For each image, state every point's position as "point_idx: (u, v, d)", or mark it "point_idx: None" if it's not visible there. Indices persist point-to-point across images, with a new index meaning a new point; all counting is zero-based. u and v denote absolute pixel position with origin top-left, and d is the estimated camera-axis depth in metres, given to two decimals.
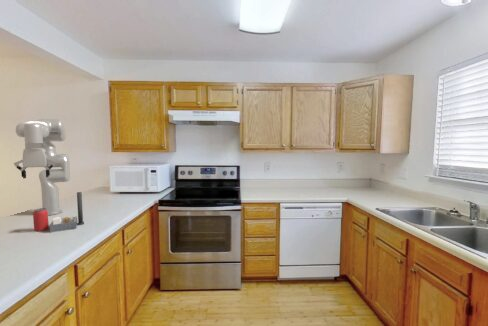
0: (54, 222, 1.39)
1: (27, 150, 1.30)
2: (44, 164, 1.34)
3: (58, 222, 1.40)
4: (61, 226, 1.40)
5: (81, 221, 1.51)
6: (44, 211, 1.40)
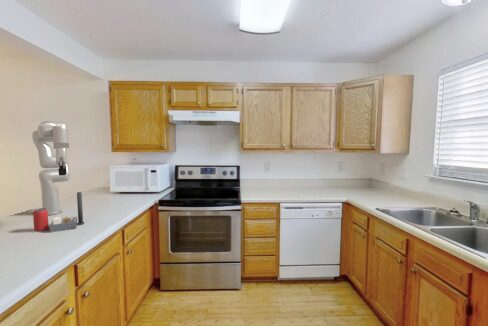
0: (54, 222, 1.39)
1: (65, 149, 1.46)
2: None
3: (58, 222, 1.40)
4: (61, 226, 1.40)
5: (81, 221, 1.51)
6: (44, 211, 1.40)
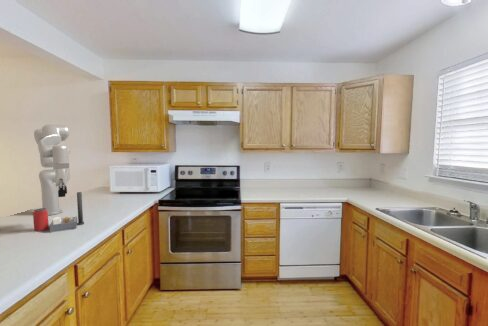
0: (54, 222, 1.39)
1: (65, 170, 1.42)
2: None
3: (58, 222, 1.40)
4: (61, 226, 1.40)
5: (81, 221, 1.51)
6: (44, 211, 1.40)
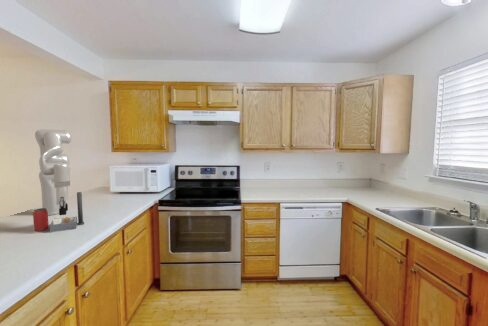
0: (54, 222, 1.39)
1: (66, 188, 1.43)
2: None
3: (58, 222, 1.40)
4: (61, 226, 1.40)
5: (81, 221, 1.51)
6: (44, 211, 1.40)
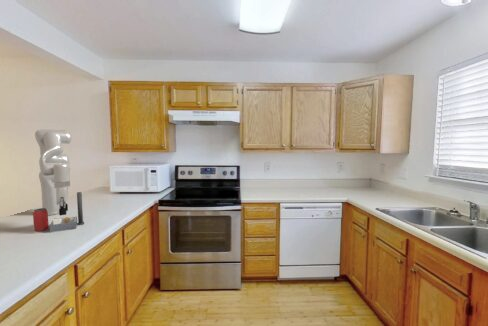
0: (54, 222, 1.39)
1: (66, 188, 1.43)
2: None
3: (58, 222, 1.40)
4: (61, 226, 1.40)
5: (81, 221, 1.51)
6: (44, 211, 1.40)
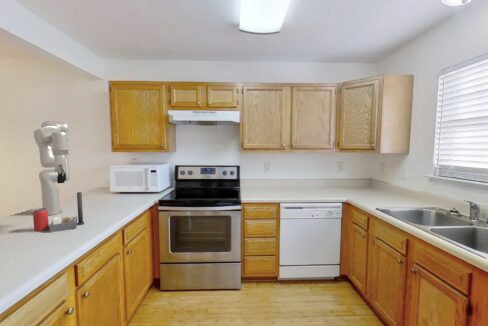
0: (54, 222, 1.39)
1: (65, 156, 1.42)
2: None
3: (58, 222, 1.40)
4: (61, 226, 1.40)
5: (81, 221, 1.51)
6: (44, 211, 1.40)
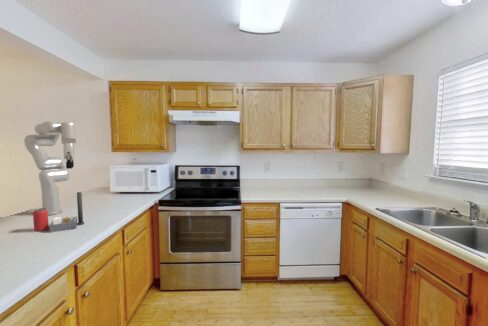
0: (54, 222, 1.39)
1: (73, 144, 1.57)
2: None
3: (58, 222, 1.40)
4: (61, 226, 1.40)
5: (81, 221, 1.51)
6: (44, 211, 1.40)
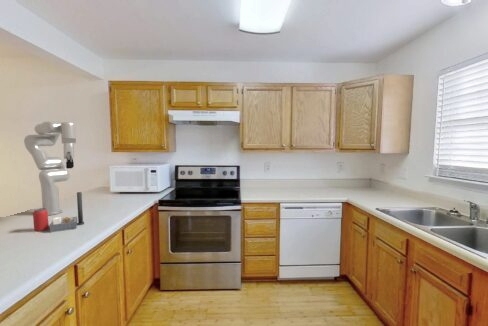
0: (54, 222, 1.39)
1: (73, 144, 1.57)
2: None
3: (58, 222, 1.40)
4: (61, 226, 1.40)
5: (81, 221, 1.51)
6: (44, 211, 1.40)
